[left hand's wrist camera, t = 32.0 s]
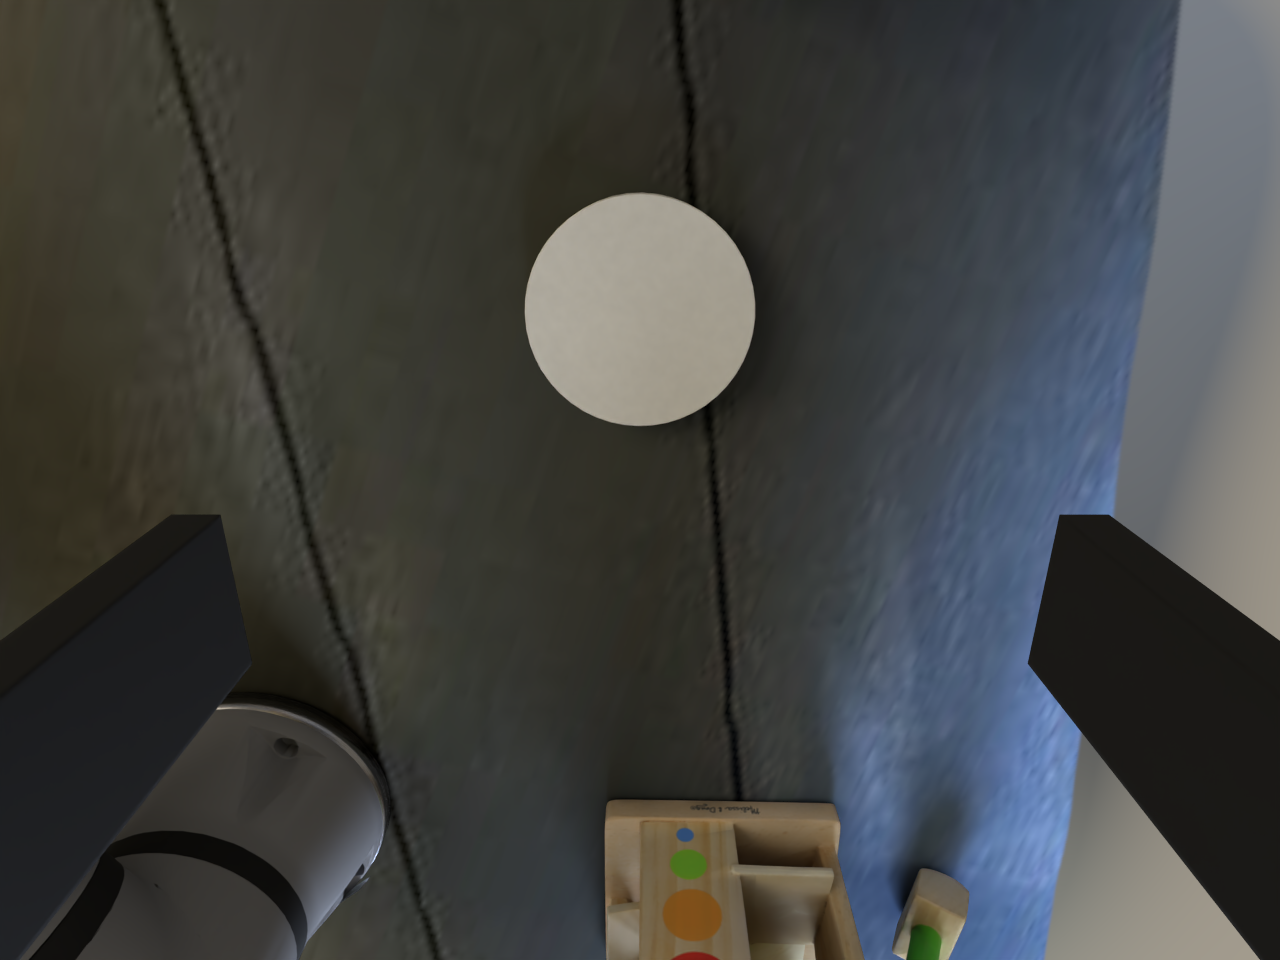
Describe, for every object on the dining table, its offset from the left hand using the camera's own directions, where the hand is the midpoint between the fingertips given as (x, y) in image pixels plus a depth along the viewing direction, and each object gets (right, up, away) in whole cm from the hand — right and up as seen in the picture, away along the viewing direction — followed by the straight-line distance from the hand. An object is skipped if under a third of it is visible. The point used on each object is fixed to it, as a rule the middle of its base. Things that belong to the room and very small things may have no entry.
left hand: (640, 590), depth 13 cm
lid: (0, +9, +24) cm, 26 cm away
